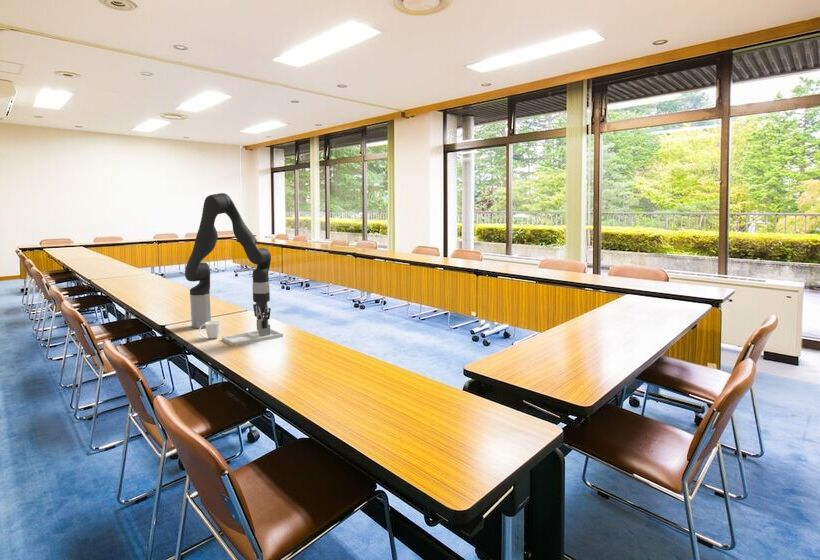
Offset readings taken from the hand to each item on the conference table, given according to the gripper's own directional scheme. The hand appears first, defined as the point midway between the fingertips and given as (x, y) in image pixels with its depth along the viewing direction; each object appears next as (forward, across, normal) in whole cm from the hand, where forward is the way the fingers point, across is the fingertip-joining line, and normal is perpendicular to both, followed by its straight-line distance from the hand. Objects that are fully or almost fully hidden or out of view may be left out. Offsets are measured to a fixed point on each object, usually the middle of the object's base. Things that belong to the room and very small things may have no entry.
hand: (262, 327), depth 218 cm
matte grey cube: (+6, -6, +4) cm, 9 cm away
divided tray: (+6, -3, -3) cm, 8 cm away
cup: (+6, -16, -18) cm, 25 cm away
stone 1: (+2, 0, 0) cm, 2 cm away
